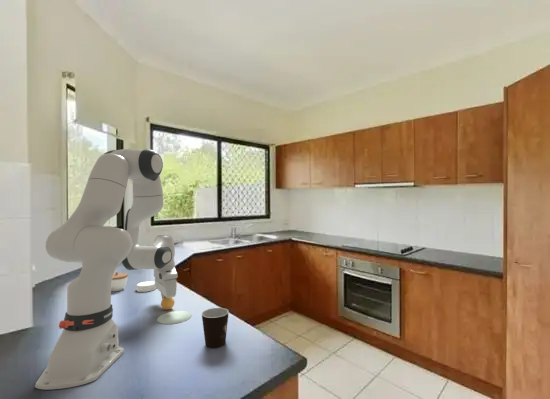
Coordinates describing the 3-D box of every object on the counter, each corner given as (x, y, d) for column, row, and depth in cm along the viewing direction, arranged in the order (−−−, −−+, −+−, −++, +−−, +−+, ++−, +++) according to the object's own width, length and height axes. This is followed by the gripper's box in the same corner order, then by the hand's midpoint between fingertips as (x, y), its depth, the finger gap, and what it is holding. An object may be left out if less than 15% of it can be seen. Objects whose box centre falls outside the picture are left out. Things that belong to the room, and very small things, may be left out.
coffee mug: (215, 353, 86) (215, 319, 86) (196, 345, 90) (196, 314, 91) (240, 337, 96) (239, 307, 96) (221, 331, 100) (221, 303, 100)
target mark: (189, 322, 109) (189, 321, 109) (154, 325, 106) (154, 325, 106) (192, 310, 121) (192, 309, 121) (160, 312, 119) (160, 312, 119)
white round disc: (149, 286, 160) (149, 279, 160) (160, 288, 155) (160, 282, 155) (132, 290, 151) (132, 284, 151) (144, 293, 146) (144, 286, 146)
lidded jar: (120, 292, 147) (120, 274, 147) (100, 292, 147) (100, 274, 148) (131, 286, 158) (131, 270, 158) (112, 286, 158) (112, 270, 158)
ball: (169, 311, 124) (172, 311, 120) (157, 307, 122) (160, 307, 118) (174, 299, 127) (178, 298, 123) (163, 294, 125) (166, 294, 121)
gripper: (151, 268, 132) (151, 297, 132) (163, 277, 116) (164, 310, 116) (164, 265, 136) (165, 294, 136) (179, 274, 120) (179, 307, 120)
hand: (164, 302), depth 126 cm, fingers closed
